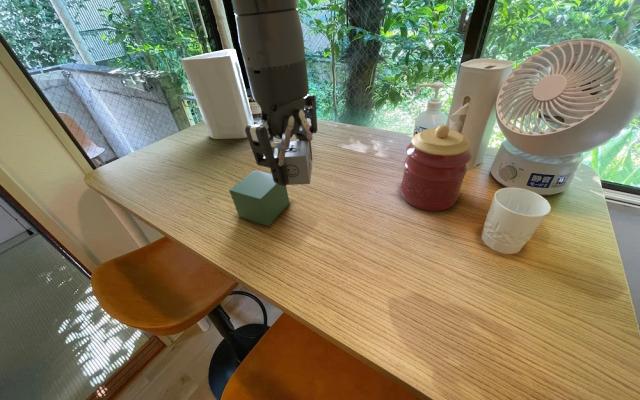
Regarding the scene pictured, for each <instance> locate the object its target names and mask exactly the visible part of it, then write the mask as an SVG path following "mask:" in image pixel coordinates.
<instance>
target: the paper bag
mask: <svg viewBox="0 0 640 400" xmlns="http://www.w3.org/2000/svg"><path fill="white" fill-rule="evenodd" d="M180 62H181V64H182V67H183V70H184V72H185V75H186V78H187V80H188V83H189V85H190V88H191V91H192V93H193V96H194V98H195V101H196V104H197V106H198V109H199V112H200V114H201V117H202V120H203V123H204V125H205V128H206V130H207V134H208V135H209V137H210V138H211V139H212V140H223V139H225V140H226V139H245V138H248V137H247V134H246V131H245V128H246V126H247V125H255V122H254V121H255V120H254V118H253V113H252V110H251V106H250V105H251V104H250V103H249V98H248V94H247V91H246V86H245V82H244V78H243V74H242V70H241V66H240V63H239V59H238V55H237V50H236V49H235V48H228V49H227V48H226V49H222V50H217V51H212V52H207V53H203V54H198V55H192V56H188V57H183V58H180Z"/></svg>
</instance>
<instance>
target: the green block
mask: <svg viewBox="0 0 640 400" xmlns="http://www.w3.org/2000/svg"><path fill="white" fill-rule="evenodd" d="M228 191H229V194H230V196H231V200H232V202H233V204H234V207H235V210H236V213H237V215H238V217H240V218H242V219H245V220H249V221H251V222H254V223H256V224H260V225H263V226H266V227H269V226H270V225H271V224H272V223H273V222H274V221H275V220H276V219H277V218H278V217H279V215H280V214H281V213H282V212H283V211H284V210H285V209H286V208H287V207H288V206H289V205H290V199H289V193H288V188H287V185H286V186H282V185H278V184H276V183H275V182H274V181H273V177H272V173H270V172H264V171H260V170H256V169H254V170H252V171H251V172H250V173H248V174H247V175H246V176H245V177H243V178H242V179H241V180H240V181H239V182H237V183H236V184H235V185H233V186H232V187H231V188H230V189H229V190H228Z"/></svg>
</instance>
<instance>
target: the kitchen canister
mask: <svg viewBox="0 0 640 400" xmlns="http://www.w3.org/2000/svg"><path fill="white" fill-rule="evenodd" d="M470 147H471V141H470V140H469V139H468V138H467V137H466V136H464V135H463V134H462V133H461V132H458V131H457V130H454V129H450V127H449V126H448V125H446V124H439V125H437V127H433V128H432V127H431V128H427V129H424V130H422V131H421V132H418V133H416V134H414V135H413V136H412V138H411V142H410V143H409V144H408V145H407V146H406V149H405V150H406V151H405V153H406V155H407V157H406V158H405V160H404V164H403V165H404V169H403V175H402V181H401V184H400V190H401V196H402V198H403V199H404V200H405V202H406V203H408V204H410V205H411V206H413V207H414V208H418V209H420V210H424V211H429V212H430V211H432V212H433V211H434V212H436V211H444V210H447V209H449V208H451V207H453V206H454V205H455V204H456V202H457V201H458V199H459V197H460V194H461V187H462V184H463V182H464V178H465V175H466V174H467V172H468V166H467V164H468V163H469V162H470V161H471V159H472V155H473V154H472V151H471V150H470Z"/></svg>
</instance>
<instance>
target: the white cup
mask: <svg viewBox="0 0 640 400" xmlns="http://www.w3.org/2000/svg"><path fill="white" fill-rule="evenodd" d="M551 211H552V207H551V204H550V202H549V201H548V200H547V199H546V198H545V197H543V196H542V195H540V194H538V193H536V192H535V191H532V190H529V189H525V188H521V187H512V186H511V187H502V188H500V189H498V190H496V191H495V193H494V195H493V197H492V200H491V204H490V206H489V209H488V212H487V214H486V218H485V221H484V224H483V228H482V231H481V237H480V238H481V240H482V242H483V243H484V244H485V246H487V247H488V248H489V249H491V250H493V251H495V252H497V253H499V254H505V255H514V254H518V253H519V252H520V251H521V250H522V249H523V248H524V246H525V245H526V243H528V242H529V241H530V239H531V238H532V237H533V236H534V234H535V233H536V232H537V230H538V229H539V227H540V226H541V225H542V223H543V222H544V220H545V219H546V218H547V216H548V215H549V214H550V212H551Z"/></svg>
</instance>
